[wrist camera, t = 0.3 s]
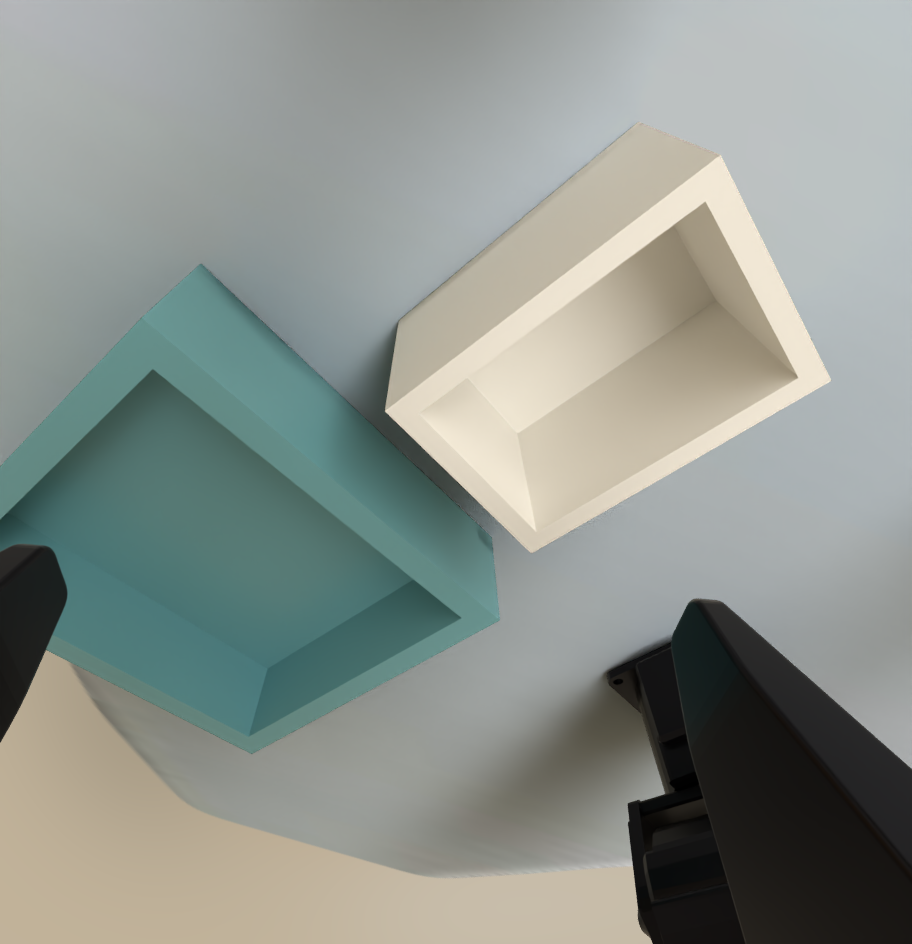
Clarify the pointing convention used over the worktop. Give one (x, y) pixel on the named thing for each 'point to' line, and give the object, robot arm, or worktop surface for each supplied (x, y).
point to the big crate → (238, 528)
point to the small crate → (602, 340)
